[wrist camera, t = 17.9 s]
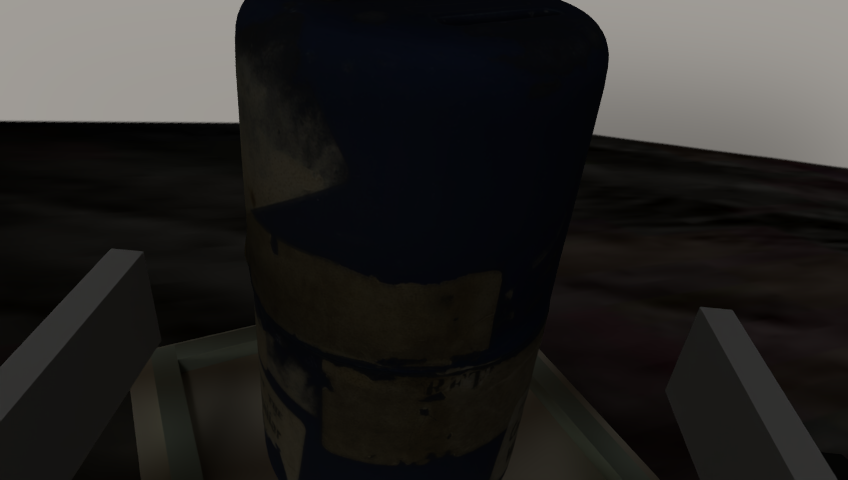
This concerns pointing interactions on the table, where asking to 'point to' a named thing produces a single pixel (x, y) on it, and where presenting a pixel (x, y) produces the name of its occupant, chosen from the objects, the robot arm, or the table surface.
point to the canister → (407, 221)
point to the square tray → (245, 438)
